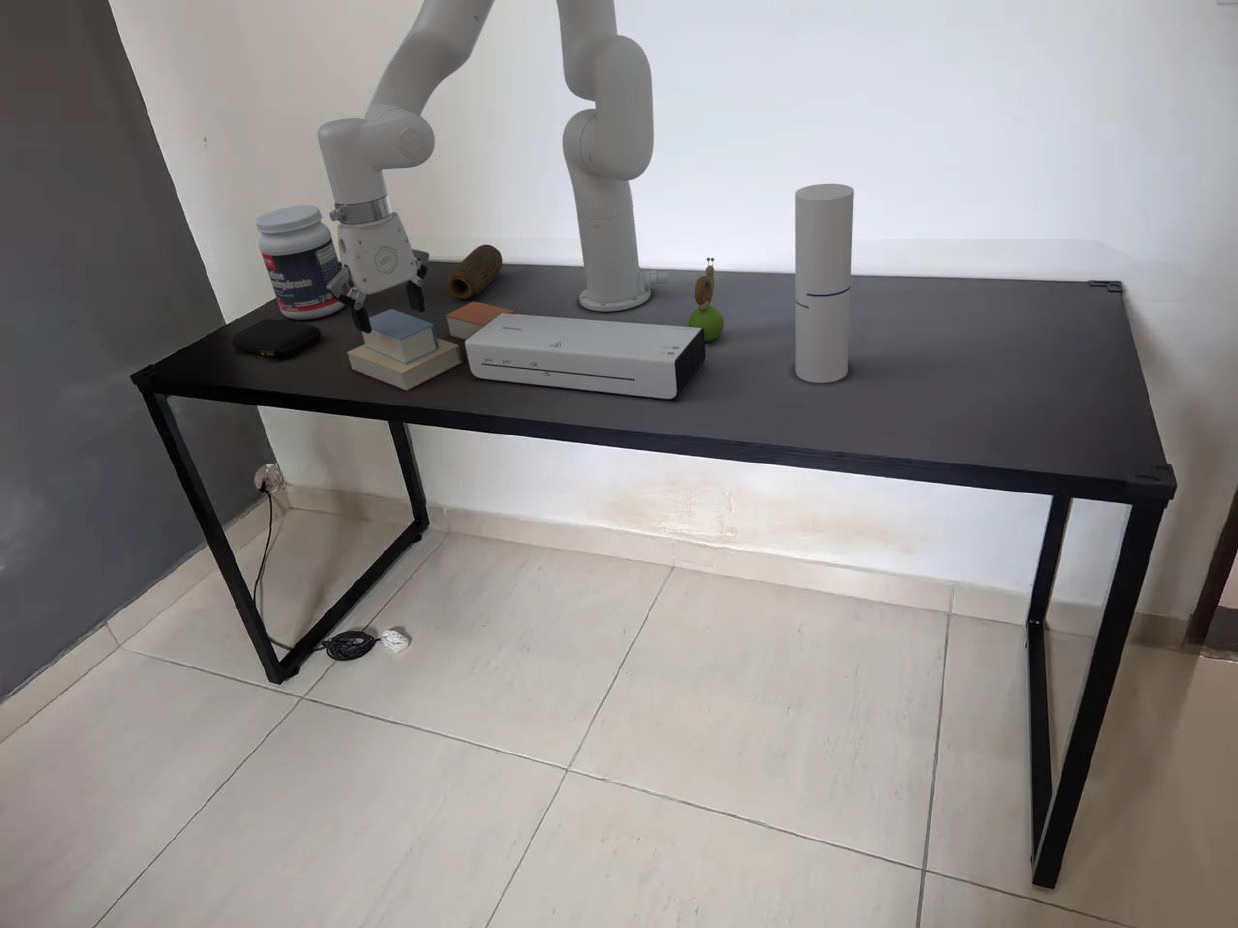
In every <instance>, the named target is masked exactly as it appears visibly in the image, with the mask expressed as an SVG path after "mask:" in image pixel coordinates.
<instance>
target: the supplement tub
mask: <svg viewBox="0 0 1238 928" xmlns="http://www.w3.org/2000/svg"><path fill="white" fill-rule="evenodd" d="M321 213H322V212H321V210H320V208H319V207H318V206H315V205H312V204H311V205H310V204H303V205H292V206H287V207H282V208H278V209H275V210H272V211H269V212H266V213H264V214H262V215H259V216H258V217H257V218H256V219H255V225H256V228H257V231H258V232H259V233H261V235H260V237H259V240H258V247H259V250H260V253H261V256H262V258H263V262H264V265H265V268H266V271H267V274H268V277H269V280H270V283H271V285H272V289H273V293H274V295H275V298H276V301H277V304H278V306H279V311H280V312H281V314H282V315H283V316H284V317H286V318H288V319H291V320H295V321H309V320H317V319H322V318H325V317H328V316H331V315H333V314H335V313H336V312H338V311H340V310H342V309H343V308H344V307H345V306H346V305H345V304H343V303H341V302H339V301H337V300H336V298H335V297H334V296H333V295H332V294H331V293H330V292H329V291H328V290H327V285H328V284H329V283H330V282H331V281H332V279H333V278H334V277H335V276H336V275H337V274H338V273H339V272H340V271H341V270H342V268H341V266H340V262H339V258H338V255H337V252H336V248H335V244H334V242H333V237H332V233H331V231H330V229H329V227H328V226H327V225H326V224H325V223H323V222H322V219H323V215H322V214H321ZM341 289H342V291H343V293H344V294H345V295H347V296H348V293H349V291H348V290H347V286H346V283H345V284H344V285H343V286H342V288H341Z"/></svg>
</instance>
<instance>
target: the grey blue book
mask: <svg viewBox="0 0 1238 928" xmlns="http://www.w3.org/2000/svg"><path fill="white" fill-rule="evenodd" d="M369 321H370V325H371V328H372V331H371V333H368V334H367V333H365V332H362V331H361V334H362V339H363V341H364V344H365V345H366V346H365V347H366V348H368V349H370V350H373V351H375V352H377V353H380V354H382V355H384V356H387V357H389V358H392V359H394V360H396V361H399V362H401V363H403V364H406V365H408V364H410V363H412V362H414V361H416V360H419V359H421V358H423V357H425V356H427V355H430V354H432V353H434V352H436V351H438V350H440V349H439V345H438V341H437V339H438V338H437V333H436V329H435V324H434V323H433V322H429V321H427V320H423V319H422V318H418V317H415V316H412V315H410V314H407V313H405V312H401V311H398V310H396V309H393V308H389V309H387V310H385V311H383V312H380V313H378V314H375V315H373V316H369Z"/></svg>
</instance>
